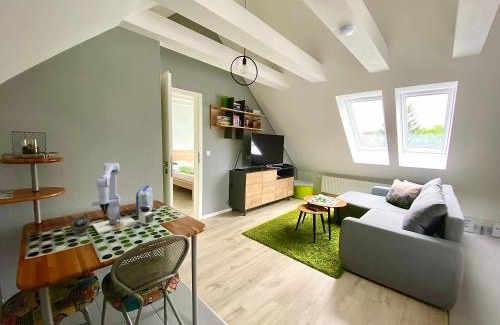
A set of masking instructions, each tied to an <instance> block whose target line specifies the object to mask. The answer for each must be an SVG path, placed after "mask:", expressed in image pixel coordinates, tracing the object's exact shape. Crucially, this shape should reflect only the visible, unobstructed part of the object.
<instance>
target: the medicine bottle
mask: <svg viewBox="0 0 500 325" xmlns="http://www.w3.org/2000/svg"><path fill="white" fill-rule="evenodd" d="M153 222H154V213H153V212H152V211H151V212H150V207H149V206H144V207H142V208H141V213H140V214H139V215H138V223H139V224H143V225H148V224H150V223H153Z"/></svg>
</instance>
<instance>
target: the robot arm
mask: <svg viewBox="0 0 500 325" xmlns="http://www.w3.org/2000/svg"><path fill="white" fill-rule="evenodd" d="M102 167H103V170H104V171H103V172H102V173H101V175H100V178H98V179H97V180H96V186H97V190H98V201H95V202H91V207H94V206H99V207H100V209H101V210H102V213H103V215H107V216H106V217H107V218H108V219H109V220H111V219H114V218H121V217H122V215H120V206H121V204H122V198H121V196H120V195H119V194H118V191H117V190H118V187H117V184H118V183H117V181H118V180H117V177H118V174H119V173H120V163H119V162H104V163H103V166H102ZM107 212H108V214H107Z"/></svg>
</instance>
